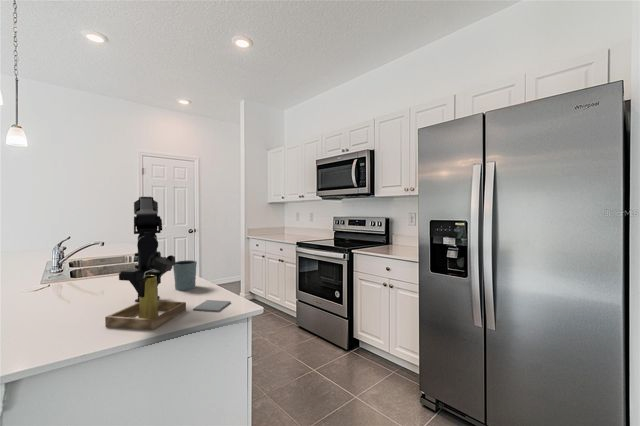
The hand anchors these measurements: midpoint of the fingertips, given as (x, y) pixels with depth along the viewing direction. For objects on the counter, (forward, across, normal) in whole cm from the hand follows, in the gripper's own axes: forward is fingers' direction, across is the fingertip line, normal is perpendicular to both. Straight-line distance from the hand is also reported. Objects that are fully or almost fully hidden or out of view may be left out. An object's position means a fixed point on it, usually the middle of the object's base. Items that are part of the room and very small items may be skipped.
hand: (148, 294), depth 102 cm
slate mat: (+8, +14, -16) cm, 23 cm away
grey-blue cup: (+8, +35, +9) cm, 37 cm away
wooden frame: (+8, 0, 0) cm, 8 cm away
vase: (+8, 0, 0) cm, 8 cm away
